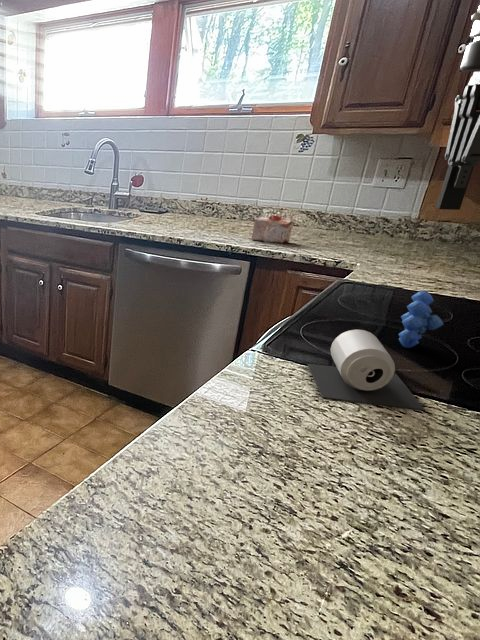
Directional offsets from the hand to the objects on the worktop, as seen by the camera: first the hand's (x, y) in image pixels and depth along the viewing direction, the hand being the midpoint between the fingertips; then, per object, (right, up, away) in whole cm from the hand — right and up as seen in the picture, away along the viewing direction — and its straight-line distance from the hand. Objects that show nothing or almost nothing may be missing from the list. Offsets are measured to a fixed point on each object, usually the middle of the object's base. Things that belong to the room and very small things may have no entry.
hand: (447, 208), depth 84 cm
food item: (+33, +22, +119) cm, 126 cm away
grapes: (+10, -22, +20) cm, 32 cm away
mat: (-10, -29, +5) cm, 31 cm away
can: (-8, -22, +11) cm, 26 cm away
